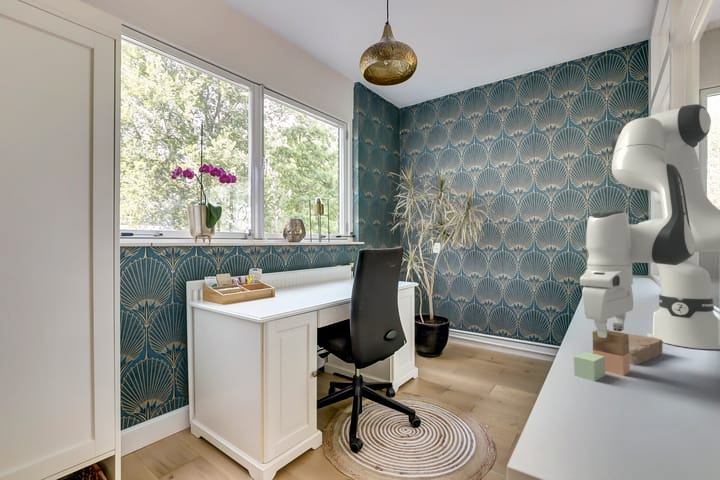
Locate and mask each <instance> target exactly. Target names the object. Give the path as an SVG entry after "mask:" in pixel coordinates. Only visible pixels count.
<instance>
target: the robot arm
mask: <svg viewBox="0 0 720 480" xmlns="http://www.w3.org/2000/svg"><path fill="white" fill-rule="evenodd" d="M711 124H712V119H711V116H710V114H709V112H708V110H707V109H706V107H704V106H703V105H701V104H688V105H682V106H681V107H680V108H679V107H678V108H674V109H668V110H664V111H660V112H657V113H653V114H652V115H650V116H646V117H639V118H636V119H632V120H631V121H629V122H628V123H625V124H623V125H621V126H619V127H617V128H616V129H615V130H614V132H613V133H612V135H611V136H610V145H611V149H612V151H613V154H612V160H611V174H612V176H613V178H614V179H615V180H616V181H617V182H618V183H619V184H622V185H623V186H626V187H629V188H632V189H637V190H645V191H651V192H652V196H653V199H654V200H655V202H657V203H658V204H660V206H661V213H662V217H659V218H651V219H648V220H643V221H641V222H638V223H637V224H636V223H633V224H630V221H629V217H628V213H627V212H626V211H625V210H622V209H621V210H620V209H614V210H604V211H598V212H595V213H592V214H590V215H589V217H588V220H587V225H586V230H585V231H586V235H585V241H586V242H585V245H586V246H585V247H586V250H587V253H588V256H587V257H588V258H587V261H586V270H585V272H584V273H583V274H582V275H581V276H579V277H580V278H579V285H580V286H582V291H581V292H582V293H581V295H582V296H581V299H582V308H583V314H584V316H585V318H586V319H587V320H593V322H594V325H595V327H596V330H597V334H598V336H599V337H602V338H606V337H608V336H609V331H610V330H609V329H608V326H607V324H608V319H612V318H614V321H613V323H612V328H613V331H614V332H622V331H624V330H625V327H624V326H625V325H624V324H625V321H626V318H627V315H626V314H627V313H629V312H632V311H633V309H634V296H633V295H634V294H633V288H632V287H633V286H632V285H634V283H633V282H634V281H633V280H634V279H633V278H634V277H633V263H640V264H641V263H644V264H646V263H647V264H655V266H656V269H657V270H658V275H659V281H660V282H659V283H660V284H659V286H660V294H659V296H658V306H659V308H658V309H657V310H655V311H654V312H653V314H652V315H653V319H652V320H653V321H652V331H651V332H647V333H646V336H647V337H654V338H658V339H661V340H662V341H663V344H669V345H673V346H678V347H683V348H684V347H685V348H691V349H700V350H720V319H719V318H718V316H716V315H715V313H714V311H715V308H714V307H715V304H714V299H713V298H712V296H711V295H712V293H711V288H712V287H711V275H710V273H709V272H708V271H707V269H705V268H704V267H702V266H700V265H698V264H697V263H696V264H695V263H694V262H691V261H689V259H690V258H691V257H693V256H694V253H705V252H706V253H711V252H712V253H713V252H720V209H719V208H718V207H716V206H715V205H714V204H713V203H712V202H711V200H710V198H708V196H707V194H706V192H705V189H704V183H703V180H702V176H701V169H700V162H699V157H698V155H697V151H696V147H697V146H698V145H699V144H698V143H699V142H701V141H703V140H704V139H705V138H706V137H707V136H708V134H709V133H710V128H711Z"/></svg>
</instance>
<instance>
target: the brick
mask: <svg viewBox="0 0 720 480" xmlns="http://www.w3.org/2000/svg"><path fill="white" fill-rule="evenodd" d="M627 334H628V336H629V363H630V365H632V364H634V366H637V365H641V364H643V363H644V361H645V362H647V361H650V360H651V359H655V358H658V357H659V356H660V355H662V353H663V347H664V346H663V344H664V342H663V341H662V340H661V339H658V338H654V337H648V336H647V335H646V336H645V335H639V334H632V333H627ZM657 356H658V357H657ZM649 359H650V360H649ZM640 363H641V364H640ZM636 364H637V365H636Z"/></svg>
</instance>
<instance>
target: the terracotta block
mask: <svg viewBox="0 0 720 480" xmlns="http://www.w3.org/2000/svg"><path fill="white" fill-rule="evenodd" d="M592 353H593V354H597V355H602V356H605V373H607V372H608V373H611V374H614V375H619V376H623V377H624V376H625V375H627V374H629V373H630V371H631V370H630V369H631V368H630V367H631V366H630V365H631V364H630V363H629V353H628V354H626V355H624V356H619V355H615V354H610V353H605V352H601V351H596V350H593V349H592Z"/></svg>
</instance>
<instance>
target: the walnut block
mask: <svg viewBox="0 0 720 480" xmlns="http://www.w3.org/2000/svg"><path fill="white" fill-rule="evenodd" d="M628 334H629V333H624V332H620V331H614V330H613V331H612V330H609V336H608V337H606V338H602V337H599V336H598V334H597V329H596V330H592V351H593V350H596V351H601V352H605V353H610V354H615V355H619V356H624V355H626V354H628V353H629V336H628Z"/></svg>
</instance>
